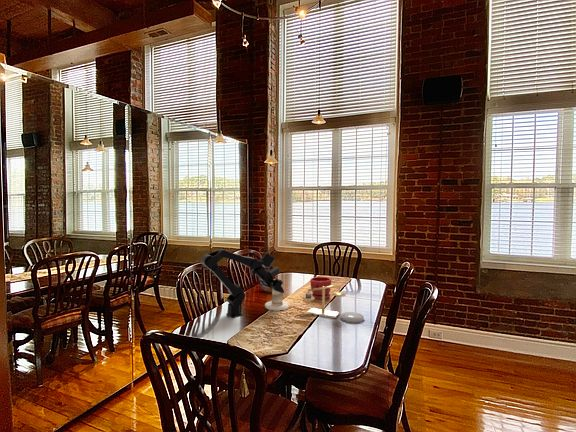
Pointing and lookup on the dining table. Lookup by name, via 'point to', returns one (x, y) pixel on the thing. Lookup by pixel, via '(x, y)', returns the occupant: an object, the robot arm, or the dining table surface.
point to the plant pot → (318, 283)
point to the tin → (266, 287)
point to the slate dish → (352, 317)
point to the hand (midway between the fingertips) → (279, 290)
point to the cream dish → (277, 308)
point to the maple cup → (276, 298)
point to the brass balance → (323, 302)
